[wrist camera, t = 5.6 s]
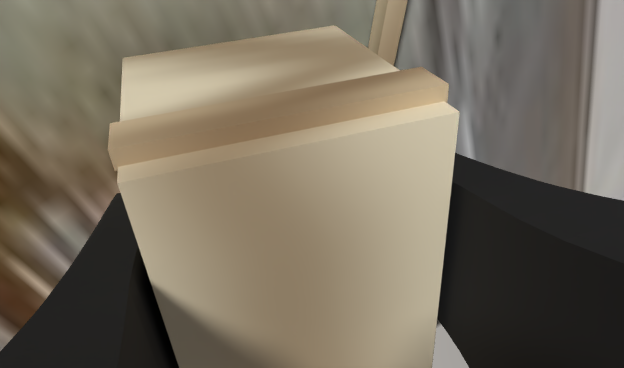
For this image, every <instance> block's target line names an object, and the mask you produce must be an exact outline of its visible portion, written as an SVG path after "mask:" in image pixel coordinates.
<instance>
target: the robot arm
mask: <svg viewBox="0 0 624 368" xmlns="http://www.w3.org/2000/svg"><path fill="white" fill-rule="evenodd" d="M437 319H438V320H439V322H440V323H441V324H442V326H443V327H444V328H445V330H446V331H447V332H448V334H449V335H450V337H451V338H452V340H453V342H454V343H455V345H456V346H457V348H458V349H459V350H460V352H461V354H462V356H463V357H464V359H465V361H466V363H467V364H468V366H469V368H624V201H622V200H617V199H612V198H607V197H602V196H597V195H593V194H588V193H584V192H580V191H576V190H572V189H567V188H563V187H559V186H555V185H551V184H548V183H544V182H540V181H537V180H534V179H530V178H527V177H524V176H521V175H517V174H514V173H511V172H508V171H505V170H502V169H499V168H496V167H493V166H490V165H487V164H484V163H481V162H478V161H476V160H473V159H470V158H467V157H465V156H462V155H459V154H457V153H455V159H454V168H453V177H452V186H451V196H450V205H449V214H448V223H447V233H446V242H445V251H444V260H443V270H442V279H441V288H440V297H439V307H438V316H437ZM0 368H179V365H178V363H177V360H176V357H175V354H174V351H173V348H172V345H171V342H170V339H169V336H168V333H167V330H166V327H165V324H164V321H163V318H162V315H161V312H160V309H159V306H158V303H157V300H156V297H155V294H154V291H153V288H152V285H151V282H150V279H149V276H148V273H147V270H146V267H145V264H144V261H143V258H142V255H141V252H140V249H139V246H138V243H137V240H136V237H135V234H134V231H133V228H132V225H131V222H130V219H129V216H128V213H127V211H126V208H125V205H124V202H123V199H122V196H121V193H118V194H116V196H115V197H114V198H113V200H112V201H111V203H110V205H109V206H108V208H107V210H106V211H105V213H104V215H103V216H102V218H101V220H100V221H99V223H98V225H97V226H96V228H95V230H94V231H93V233H92V234H91V236H90V238H89V239H88V241H87V242H86V244H85V245H84V247H83V248H82V250H81V251H80V253H79V254H78V256H77V257H76V259H75V260H74V262H73V263H72V265H71V266H70V268H69V269H68V271H67V272H66V273H65V275H64V276H63V277H62V279H61V280H60V281H59V283H58V284H57V285H56V287H55V288H54V289H53V291H52V292H51V293H50V295H49V296H48V297H47V299H46V300H45V301H44V303H43V304H42V305H41V306H40V308H39V309H38V310H37V311H36V312H35V314H34V315H33V316H32V317H31V318H30V319H29V321H28V322H27V323H26V324H25V325H24V326H23V327H22V328H21V330H20V331H19V332H18V333H17V334H16V335H15V336H14V337H13V338H12V339H11V341H10V342H9V343H8V344H7V345H6V346H5V347H4V348H3V349H2V350H1V351H0Z"/></svg>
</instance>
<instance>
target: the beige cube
mask: <svg viewBox="0 0 624 368" xmlns="http://www.w3.org/2000/svg"><path fill="white" fill-rule="evenodd" d="M448 88H449V84H448V83H446V82H445V81H443V80H441V79H440V78H438V77H437V76H435V75H433V74H432V73H430V72H429V71H427V70H426V69H424V68H422V67H418V68H412V69H407V70H401V71H400V70H398V69H397V68H396V67H394V66H393V65H391V64H390V63H388V62H387V61H385V60H384V59H383V58H381V57H380V56H378V55H377V54H375V53H374V52H372V51H371V50H370V49H368V48H367V47H365V46H364V45H362V44H361V43H360V42H358V41H357V40H355V39H354V38H352V37H351V36H349V35H348V34H347V33H345V32H344V31H342V30H341V29H339V28H338V27H336V26H335V25H334V26H328V27H321V28H315V29H308V30H302V31H295V32H289V33H282V34H276V35H269V36H263V37H256V38H250V39H243V40H237V41H230V42H224V43H217V44H211V45H204V46H197V47H191V48H184V49H178V50H171V51H165V52H158V53H152V54H145V55H139V56H132V57H126V58H123V63H122V87H121V110H120V122H114V123H110V130H109V142H108V152H109V155H110V158H111V161H112V164H113V167H114V170H115V171H118V179H117V184H118V187H119V190H120V193H121V196H122V199H123V202H124V205H125V208H126V211H127V213H128V216H129V219H130V222H131V225H132V228H133V231H134V234H135V237H136V240H137V243H138V246H139V249H140V252H141V255H142V258H143V261H144V264H145V267H146V270H147V273H148V276H149V279H150V282H151V285H152V288H153V291H154V294H155V297H156V300H157V303H158V306H159V309H160V312H161V315H162V318H163V321H164V324H165V327H166V330H167V333H168V336H169V339H170V342H171V345H172V348H173V351H174V354H175V357H176V360H177V363H178V365H179V368H432V362H433V353H434V343H435V334H436V325H437V316H438V307H439V297H440V288H441V279H442V270H443V260H444V251H445V242H446V233H447V223H448V214H449V205H450V196H451V186H452V177H453V168H454V159H455V149H456V140H457V131H458V122H459V111H457V110H456V109H455V108H453V107H452V106H450V105H449V104H447V99H448Z"/></svg>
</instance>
